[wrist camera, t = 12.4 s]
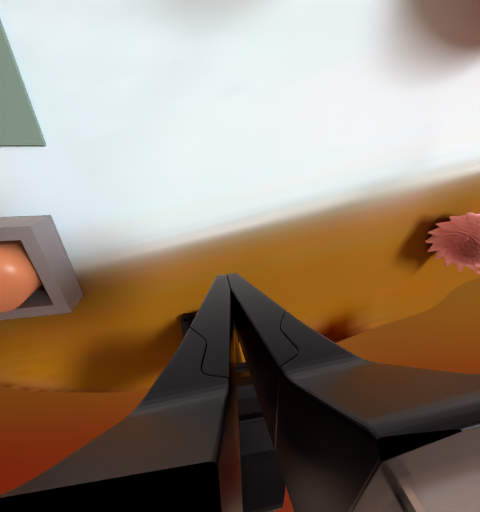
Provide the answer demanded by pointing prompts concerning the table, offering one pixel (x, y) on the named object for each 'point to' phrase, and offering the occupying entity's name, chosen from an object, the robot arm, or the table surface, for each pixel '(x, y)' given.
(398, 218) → the table surface
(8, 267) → the button
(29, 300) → the button box
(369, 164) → the table surface
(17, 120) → the board
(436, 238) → the flower
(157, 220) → the table surface
